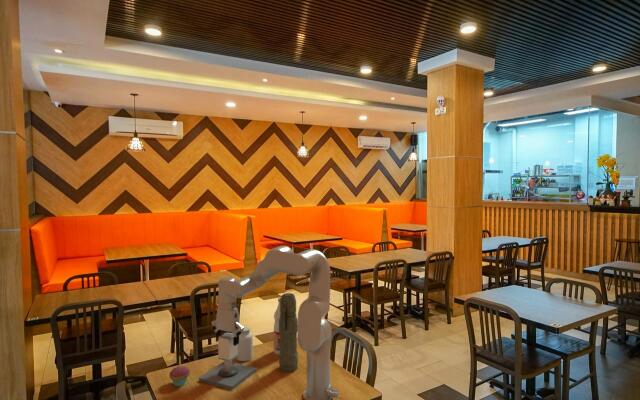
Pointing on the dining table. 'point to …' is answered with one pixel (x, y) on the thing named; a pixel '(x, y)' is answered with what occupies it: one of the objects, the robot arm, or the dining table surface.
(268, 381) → the dining table surface
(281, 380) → the dining table surface
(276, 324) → the fruit juice
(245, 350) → the pill bottle
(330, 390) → the robot arm
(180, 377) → the cupcake
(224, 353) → the white rectangular block
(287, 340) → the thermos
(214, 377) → the post base
